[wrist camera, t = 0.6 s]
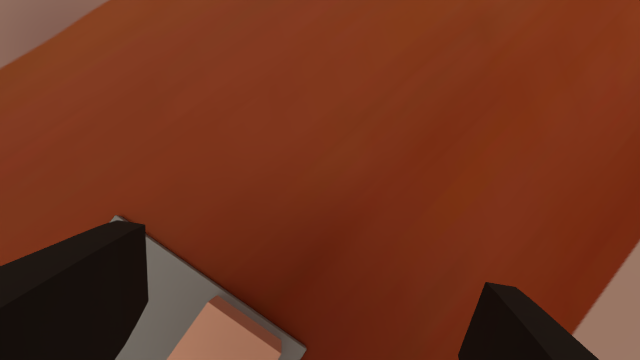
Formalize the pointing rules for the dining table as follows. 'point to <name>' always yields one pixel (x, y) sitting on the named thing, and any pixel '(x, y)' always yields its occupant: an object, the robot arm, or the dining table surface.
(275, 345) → the terracotta block
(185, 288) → the build board
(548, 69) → the dining table surface
